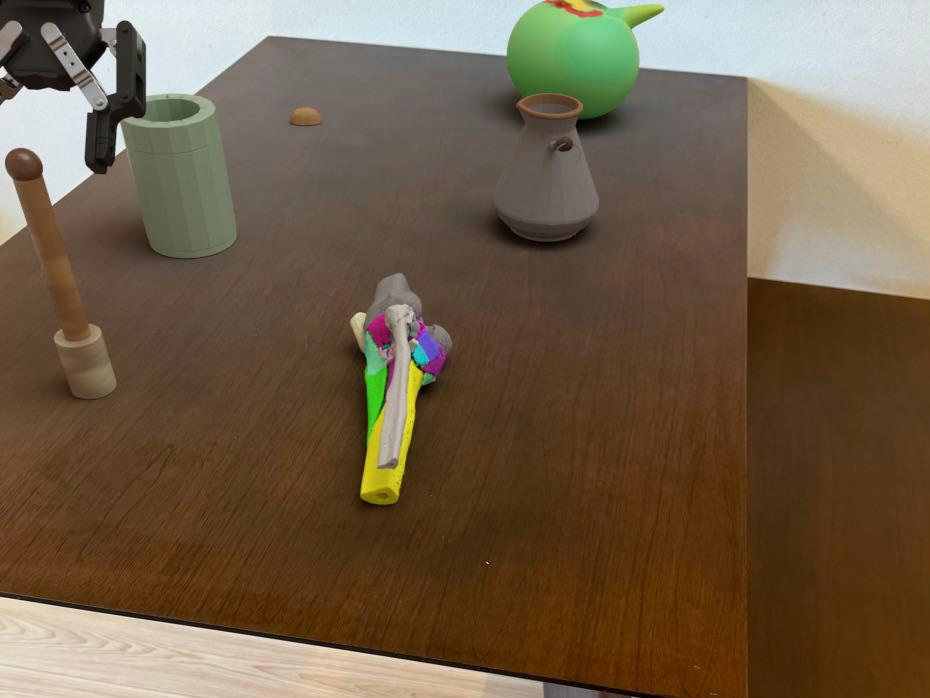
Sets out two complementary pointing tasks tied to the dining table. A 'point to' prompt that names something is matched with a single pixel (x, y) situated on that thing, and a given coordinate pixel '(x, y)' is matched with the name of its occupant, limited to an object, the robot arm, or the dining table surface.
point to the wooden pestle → (61, 283)
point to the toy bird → (578, 52)
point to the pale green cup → (181, 176)
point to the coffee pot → (547, 173)
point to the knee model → (394, 380)
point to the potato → (305, 116)
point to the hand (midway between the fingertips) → (36, 167)
